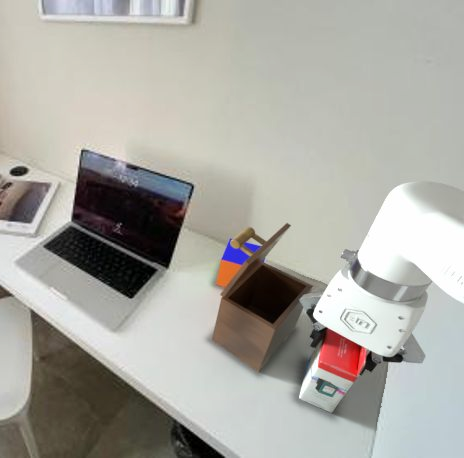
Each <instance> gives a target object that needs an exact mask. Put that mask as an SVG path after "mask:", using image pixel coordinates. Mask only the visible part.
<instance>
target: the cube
mask: <svg viewBox="0 0 464 458" xmlns="http://www.w3.org/2000/svg"><path fill="white" fill-rule="evenodd" d="M232 239H233V238H231V237H230V238H229V239H228V242H227V245H226V247H225V249H224V252H223V255H222V257H221V259H220V263H219V268H218V273H217V278H216V283H215V285H216V286H219V287H222V288H225V287H226V286H227V284H228V283H229V282H230V281H231V279H232V278H233V277H234V275H235V274H236V273H237V271H238V270H239V269H240V267H241V266H242V265H243V263H244V262H245V261H246V260H247V259H248V258H249V257H250V256H249V255H247V254H246V253H245V252H243V251H242V250H241V249H235V248H233V247H232V246H231V244H230V242H231V240H232ZM243 245H245V246H246V247H247V248H249V249H250V250H251V251H253V252H254V253H255V252H256V251H257V250H258V249H259V248H260V247H261V246H262V245H259V244H254V243H251V242H248V241H247V242H246V243H244V244H243ZM265 259H266V257H265V258H264V259H263V261H262V262H264V263H265Z"/></svg>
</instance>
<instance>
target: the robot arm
mask: <svg viewBox="0 0 464 458" xmlns="http://www.w3.org/2000/svg"><path fill="white" fill-rule="evenodd" d="M340 258H341V259H344V260H345V261H346V262H347V263H346V264H345V265H344V266H343V267H342V268H341V269H340V270H339V271H338V272H337V273H336V274H335V275H334V277H333V278H332V279H331V281H329V283H328V285H327V287H326V288H325V290H324V291H319V292H312V293H311V292H310V294H304V295H302V297H301V298H300V299H299V301H300V303H301V304H302V306H303V307H304V308H303V310H305V311H306V315H307V317H308V318H309V320H310V321H311V323H312V325H311V327H312V330H311V332H310V334H309V338H310V339H312V341H311V343H310V345H309V347H310V348H312V349H315V348H316V346H317V345H318V344H319V342H320V341H321V340H322V338H323V337H324V335H325V333H326V331H327V329H328V328H329V329H331V330H333V331H335V332H336V333H338V334H340V335H342V336H344V337H346V338H348V339H349V340H351V341H353V342H355V343H357V344H359V345H361V346H363V347H365V348H366V349H367V351H368V350H369V352H367V355H366V363H365V366H364V368H363V370H362V371H361V373H360V374H359V376H360V377H361V376H363V374H364V373H365V372H366V371H367V372H370V373H372V372H373V371H374V369H375V368H376V367H377V365H382V364H383V363H396V364H401V363H402V362H405V363H409V364H423V362H424V360H425V359H426V357H427V356H426V354H425V352H424V351H423V348H422V347H421V345H420V344H419V342H418V340H417V339H416V337H415V336H414V334H413V332H414V330H415V329H416V327H417V325H418V323H419V322H420V320H421V318H422V316H423V314H424V311H425V310H426V309H425V308H426V307H427V306H426V305H427V302H428V299H429V298H428V297H429V294H428V292H427V290H428V288H429V287H430V286H431V284H432V283H434V284H435V285H437V286H438V288H439V289H441V290H442V291H443V292H444V293H446V294H447V295H449V296H450V297H451V298H453V299H454V300H455V301H457V302H460V304H463V305H464V190H463V189H460V188H458V187H455V186H453V185H449V184H446V183H442V182H435V181H427V180H417V181H409V182H405V183H404V182H403V183H401V184H399V185H398V186H396V187H394V188H393V189H392V190H391V191H390V192H389V193H388V194H387V196H386V197H385V200H384V201H383V204H382V205H381V207H380V209H379V211H378V213H377V215H376V216H375V219H374V221H373V223H372V225H371V226H370V229H369V230H368V233H367V234H366V236H365V238H364V240H363V242H362V244H361V246H360V248H359V250H358V249H357V250H356V251H355V250H350V249H347V248H344V250H343V252H342V253H341V255H340ZM402 348H403V349H402Z"/></svg>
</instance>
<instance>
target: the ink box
mask: <svg viewBox="0 0 464 458" xmlns="http://www.w3.org/2000/svg"><path fill="white" fill-rule="evenodd" d="M367 355H368V349H366V348H365V347H363V346H361V345H359V344H357V343H355V342H353V341H351V340H349V339H348V338H346V337H344V336H342V335H340V334H338V333H336V332H335V331H333V330H331V329H329V328H328V329H327V331H326V333H325V335H324V337H323V338H322V340H321V341H320V342H319V344H318V345H317V346H316V348H313V351H312V353H311V355H310V357H309V358H308V360H307V361H306V366H305V369H304V375H303V379H302V384H301V387H300V392H299V397H298V398H299V400H301V401H303V402H305V403H308V404H309V405H312V406H314V407H317V408H319V409H321V410H323V411H327V412H328V413H331V414H332V413H333V412H334V410H335V409H336V407H337V406H338V405H339V403H340V402H341V401H342V400H343V398H344V397H345V395H346V394H347V392H348V391H349V390H350V389H351V387H352V386H353V385H354V383H355V382H356V381H357V379H358V378H359V376H360V375H359V374H360V373H361V371H362V370H363V368H364V366H365V363H366V356H367Z"/></svg>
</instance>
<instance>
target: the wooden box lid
mask: <svg viewBox="0 0 464 458" xmlns="http://www.w3.org/2000/svg"><path fill="white" fill-rule="evenodd" d="M291 226H292V225H291V224H290V223H288V222H286V223H285V224H284V225H283V226H282V227H281V228H279V229H278V230H277V231H276V232H275V233H274V234H273V235H272V236H271V237H270V238H269V239H268V240H266V239H264V238H263V237H261V236H260V235H258V234H256V230H255V229H254V228H253V227H251V226H247V227H246V228H244V229H243V230H242V231H240V232H239V233H238V234H237V235H236V236H235V237H234V238H231V239H232V240H231V242H230V244H231V246H232V247H233V248H235V249H241V250H242V251H243V252H245V253H246V254H247V255H249V256H250V257H249V258H248V259H247V260H246V261H245V262H244V263H243V265H242V266H241V267H240V269H239V270H238V271H237V273H236V274H235V275H234V277H233V278H232V279H231V281H230V282H229V283H228V284H227V286H226V287H223V288H224V289H222V291H221V292H220V294H219V295H220V296H221V298H222V297H225V296H226V295H227V294H228V293H229V292H230V291H231V290H232V289H233V288H234V287H235V286H236V285H237V284H238V283H239V282H241V281H242V280H243V279H244V278H245V277H246V276H247V275H248V274H249V273H250V272H251V271H252V270H253V269H254V268H255V267H256V266H257V265H258V264H259V263H260V262H261V261H263V259H264V258H265V259H266V257H267V256H268V255H269V253H270V252H271V251H272V250H273V249H274V247H275V246H276V245H277V244H278V242H279V241H280V240H281V239H282V237H283V236H284V235H285V234H286V233H287V232H288V230H289V229H290V228H291ZM251 238H252V239H253V240H254V241H256V242H257V243H258V244H260V246H261V247H260V248H259V249H258V250H257V251H256V252H255V253H254V252H253V251H251V250H250V249H249V248H247V247H246V246H245V245H243V244H244V243H246V242H247V243H248V241H249V240H250V239H251Z"/></svg>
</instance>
